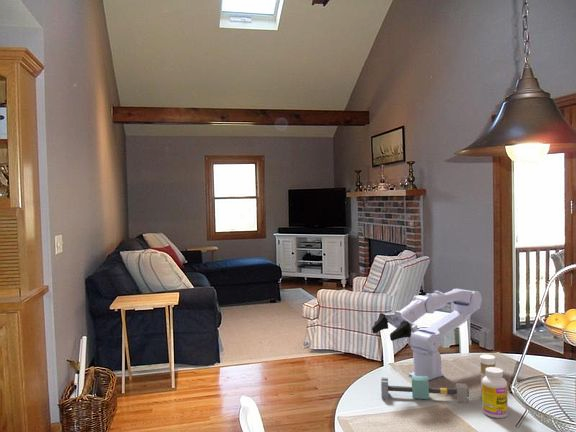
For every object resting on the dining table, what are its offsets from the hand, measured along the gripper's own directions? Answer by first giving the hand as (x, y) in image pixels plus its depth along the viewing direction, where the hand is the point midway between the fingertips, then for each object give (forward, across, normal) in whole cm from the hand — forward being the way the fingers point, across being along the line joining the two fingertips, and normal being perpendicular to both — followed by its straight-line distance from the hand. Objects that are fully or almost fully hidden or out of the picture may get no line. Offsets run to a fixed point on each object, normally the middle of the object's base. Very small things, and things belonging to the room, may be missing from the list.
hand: (381, 334), depth 154 cm
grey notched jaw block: (+7, +4, +17) cm, 19 cm away
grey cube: (-7, +22, +20) cm, 31 cm away
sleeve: (0, +13, +18) cm, 22 cm away
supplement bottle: (-7, +34, +18) cm, 39 cm away
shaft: (-1, +13, +17) cm, 22 cm away
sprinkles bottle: (-14, +28, +21) cm, 37 cm away
